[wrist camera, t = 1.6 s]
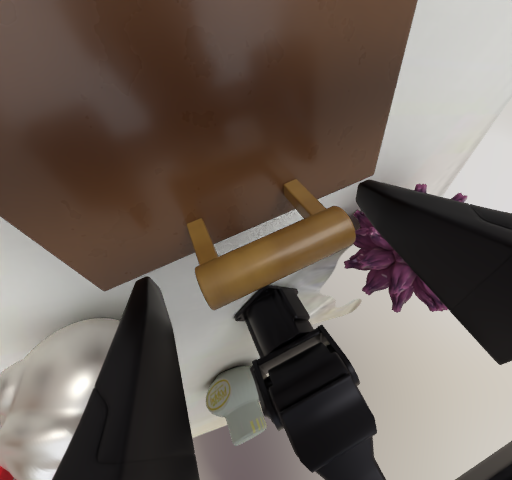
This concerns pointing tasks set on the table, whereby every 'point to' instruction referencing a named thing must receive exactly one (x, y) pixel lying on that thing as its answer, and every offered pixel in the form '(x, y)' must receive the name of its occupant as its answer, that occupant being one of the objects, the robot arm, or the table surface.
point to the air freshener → (237, 403)
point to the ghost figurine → (50, 397)
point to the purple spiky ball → (390, 265)
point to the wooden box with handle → (192, 129)
